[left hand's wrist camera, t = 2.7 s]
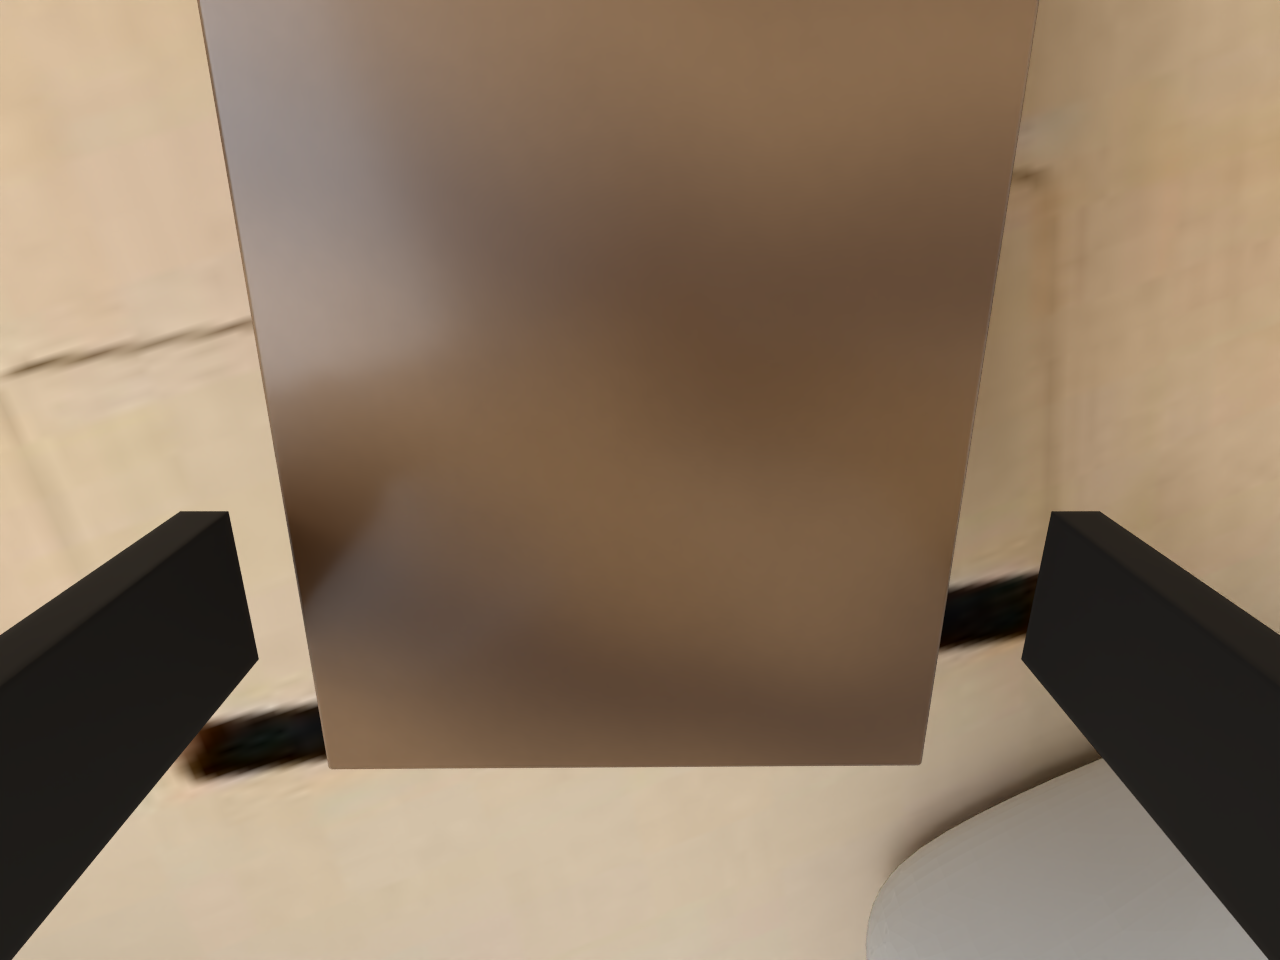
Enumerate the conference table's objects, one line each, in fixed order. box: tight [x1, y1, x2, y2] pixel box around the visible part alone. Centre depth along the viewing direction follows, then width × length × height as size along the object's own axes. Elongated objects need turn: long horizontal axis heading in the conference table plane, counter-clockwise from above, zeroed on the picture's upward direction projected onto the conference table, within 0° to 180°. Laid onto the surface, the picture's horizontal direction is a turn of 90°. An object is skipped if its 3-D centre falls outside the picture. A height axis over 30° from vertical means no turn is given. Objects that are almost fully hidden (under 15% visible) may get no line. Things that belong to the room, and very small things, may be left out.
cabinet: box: [197, 0, 1039, 769], centre depth 16 cm, size 20×11×12 cm, turn 0°
